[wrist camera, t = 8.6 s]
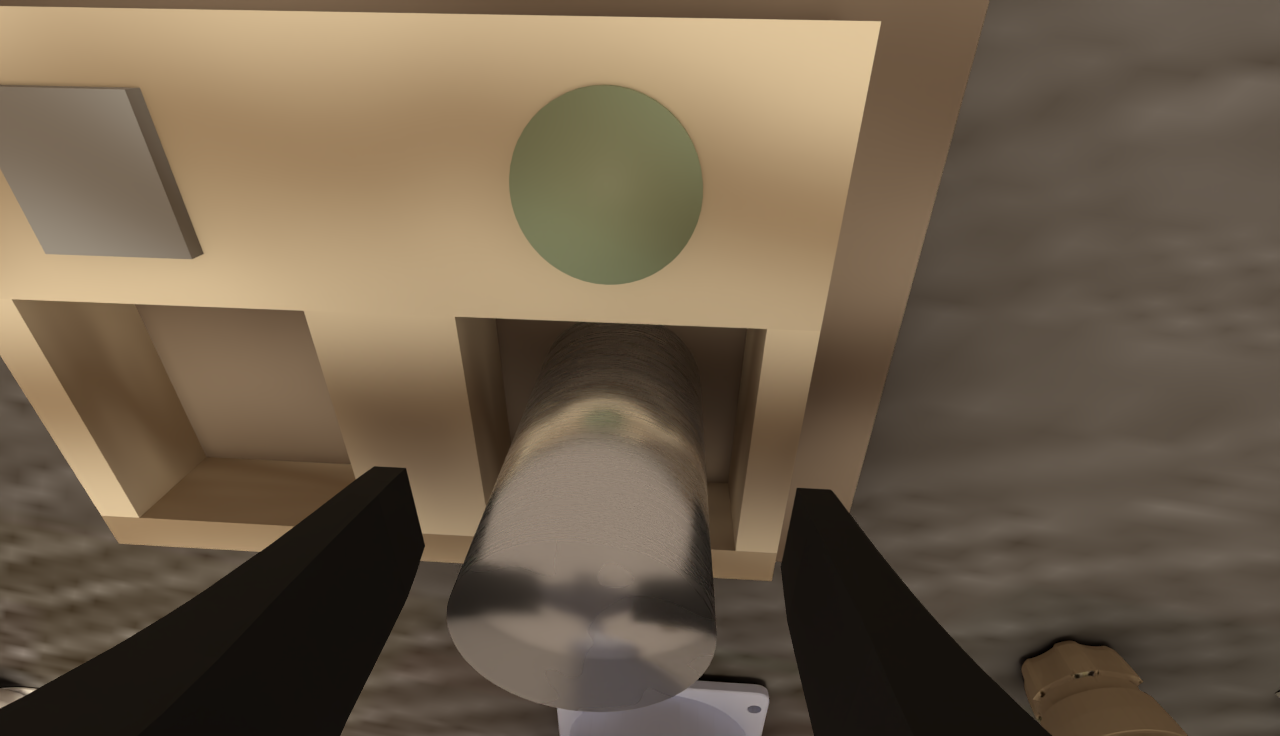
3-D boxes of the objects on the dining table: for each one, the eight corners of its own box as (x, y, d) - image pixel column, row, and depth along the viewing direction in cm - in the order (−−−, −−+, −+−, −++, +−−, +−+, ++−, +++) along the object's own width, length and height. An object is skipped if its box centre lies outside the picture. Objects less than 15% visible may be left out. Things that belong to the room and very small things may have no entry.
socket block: (830, 549, 18) (859, 647, 15) (149, 511, 19) (55, 597, 16) (1004, -112, 10) (1137, -169, 7) (-212, -122, 11) (-533, -176, 8)
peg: (694, 451, 15) (706, 719, 9) (547, 444, 16) (466, 703, 10) (706, 316, 13) (729, 549, 7) (536, 310, 14) (424, 533, 8)
